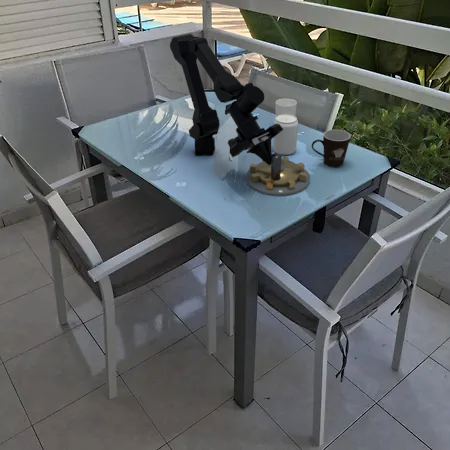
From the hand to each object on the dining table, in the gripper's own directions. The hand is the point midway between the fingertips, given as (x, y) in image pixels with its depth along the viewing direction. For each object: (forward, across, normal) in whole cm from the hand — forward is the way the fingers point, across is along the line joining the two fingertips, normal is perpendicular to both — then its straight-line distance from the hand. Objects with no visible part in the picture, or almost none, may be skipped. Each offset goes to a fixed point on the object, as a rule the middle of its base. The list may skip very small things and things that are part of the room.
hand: (270, 164), depth 143 cm
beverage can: (-3, -22, -14) cm, 27 cm away
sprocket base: (+5, -5, -6) cm, 9 cm away
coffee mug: (+8, -26, -3) cm, 27 cm away
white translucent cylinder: (-12, -38, -23) cm, 46 cm away
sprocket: (+4, -5, -5) cm, 8 cm away
